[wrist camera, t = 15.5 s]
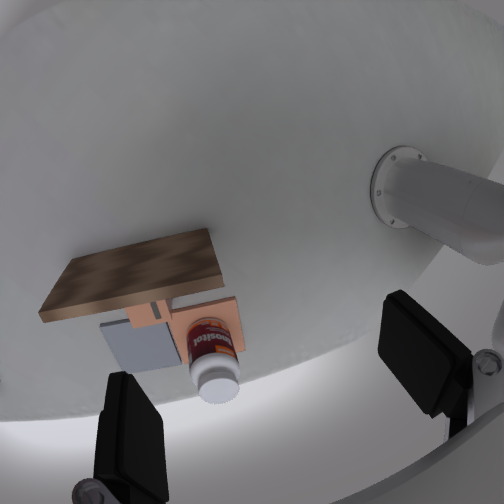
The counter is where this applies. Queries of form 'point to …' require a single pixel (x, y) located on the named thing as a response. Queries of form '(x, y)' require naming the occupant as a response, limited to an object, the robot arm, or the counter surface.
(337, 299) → the counter surface
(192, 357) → the pill bottle
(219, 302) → the terracotta pad
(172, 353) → the slate pad
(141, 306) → the terracotta cube
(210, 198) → the counter surface
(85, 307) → the walnut wall
